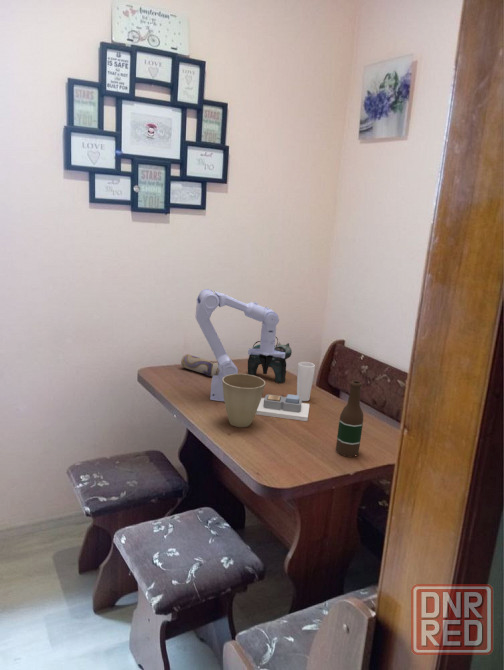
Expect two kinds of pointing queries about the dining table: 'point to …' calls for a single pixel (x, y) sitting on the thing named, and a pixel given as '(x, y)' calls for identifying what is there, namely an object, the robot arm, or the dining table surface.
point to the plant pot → (242, 397)
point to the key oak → (274, 398)
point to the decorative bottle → (200, 365)
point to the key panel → (283, 409)
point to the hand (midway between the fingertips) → (265, 373)
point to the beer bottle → (350, 423)
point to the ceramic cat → (276, 363)
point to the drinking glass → (305, 379)
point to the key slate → (292, 399)
